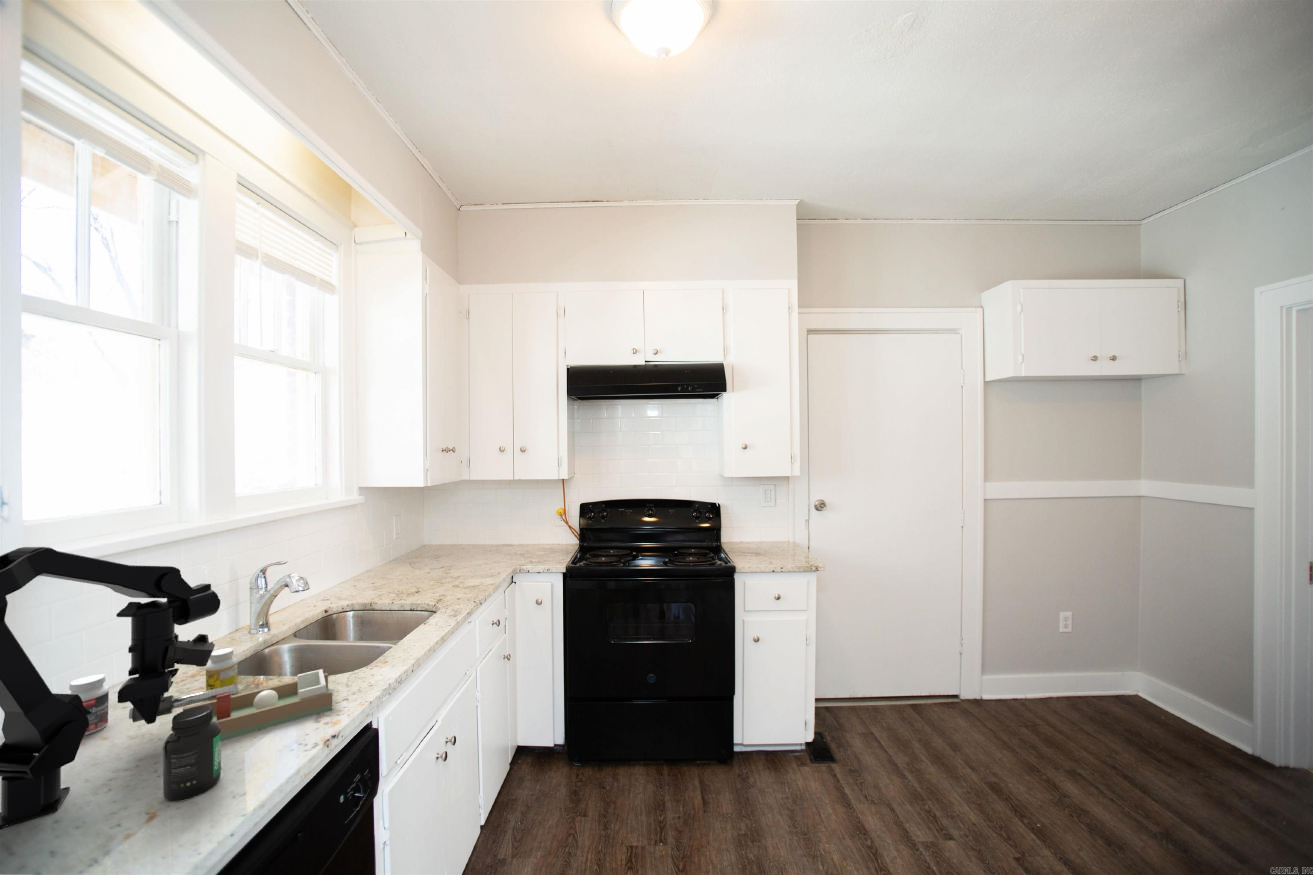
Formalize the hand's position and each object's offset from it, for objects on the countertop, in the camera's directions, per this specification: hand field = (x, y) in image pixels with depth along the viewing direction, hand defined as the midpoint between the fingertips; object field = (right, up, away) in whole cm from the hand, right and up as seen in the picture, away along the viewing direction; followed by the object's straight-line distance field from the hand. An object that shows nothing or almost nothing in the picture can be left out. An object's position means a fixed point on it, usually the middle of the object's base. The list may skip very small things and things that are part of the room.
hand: (153, 719), depth 93 cm
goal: (+19, -4, +14) cm, 24 cm away
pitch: (+12, -5, +9) cm, 16 cm away
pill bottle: (-19, -6, +6) cm, 20 cm away
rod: (+4, -3, +3) cm, 6 cm away
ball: (+13, -2, +10) cm, 17 cm away
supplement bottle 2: (-4, -6, +19) cm, 21 cm away
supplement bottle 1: (+19, -4, -12) cm, 23 cm away
